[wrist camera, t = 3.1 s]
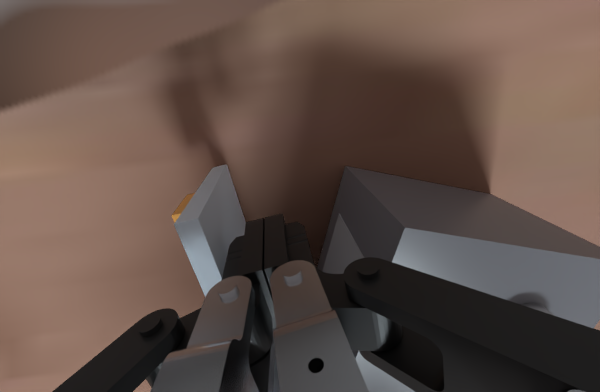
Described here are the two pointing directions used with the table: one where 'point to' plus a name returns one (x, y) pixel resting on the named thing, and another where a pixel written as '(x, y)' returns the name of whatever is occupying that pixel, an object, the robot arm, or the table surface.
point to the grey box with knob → (460, 247)
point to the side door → (211, 229)
